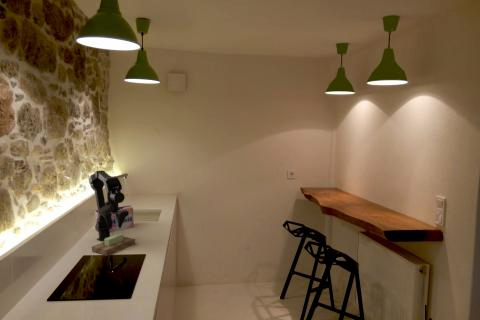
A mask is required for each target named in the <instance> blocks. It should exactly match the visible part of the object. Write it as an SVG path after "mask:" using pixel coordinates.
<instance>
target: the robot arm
mask: <svg viewBox="0 0 480 320" xmlns="http://www.w3.org/2000/svg"><path fill="white" fill-rule="evenodd" d="M88 183H89V185H90V188H91V189H92V190H93V192H94V195H95V196H94V197H95V201H96V207H97V210H98V213H99V215H98V218H97V223H96V222H95V225H94V228H95V231H96V232H97V231H98V232H99V233H98V232H97V233H98V238H96V240H97V241H100V242H104V239H105V238H108V237H111V231H110V230H109V229H112V225H113V221H112V219H111V215H112V214H116V219H117V220H118V226H119V228H121V226H122V224H123V222H124V220H125V218H126V217H127V216H128V215H129V212H128V211H127V210H121V211H118V210H120V208H119V207H120V206H119V205H120V204H121V203H123V202H124V201H125V198H126V196H125V194H124V193H122V190H123V186H122V183H121V181H120V179H119V178H118V177H117V176H111V175H110V174H108V173H107V172H106V171H105V170H103V169H101V170H95V172H94V173H93V174H91V175H90V176H89V178H88ZM103 188H104V189H105V191H106V197H107V199H105V195H104V189H103ZM106 200H107V201H106Z"/></svg>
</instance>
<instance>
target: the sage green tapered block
mask: <svg viewBox="0 0 480 320" xmlns="http://www.w3.org/2000/svg"><path fill="white" fill-rule="evenodd" d="M123 236H124V235H123V233H117V234H113V235H112V236H111V235H110V237H108V238H105V239H104V241H103V242H104V243H105V245H107V246H113V244H115V243H120V242H122V241H123Z"/></svg>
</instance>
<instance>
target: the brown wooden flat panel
mask: <svg viewBox="0 0 480 320" xmlns="http://www.w3.org/2000/svg"><path fill="white" fill-rule="evenodd" d="M134 245H136V239H135V238H132V237H128V236H124V235H123V241H122V242H120V243H115V244H113V246H107V245H105V243H104V241H102V242H100V243H97V244H95V245H92V246H91V253H95V254H98V255H102V256H106V257H107V256H110V255H112V254H115V253H117V252H119V251H121V250H124V249H126V248H129V247H132V246H134Z"/></svg>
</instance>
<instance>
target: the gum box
mask: <svg viewBox="0 0 480 320" xmlns="http://www.w3.org/2000/svg"><path fill="white" fill-rule="evenodd" d="M119 208H120V210H118V211H121V210H127V211H128V212H129V215H128V216H127V217H126V218H125V220H124V222H123V224H122V226H121V228H119V226H118V220H117V219H116V214H112V215H111V219H112V221H113V225H112V229H109V230H110V232H114V231H118V230H125V229H130V228H134V226H135V225H134V224H135V223H134V208H133V206H132V205H124V206H119ZM94 212H95V213H94V214H95V224H96V223H97V218H98V215H99V213H98V209H97V210H95V211H94ZM96 232H97V233H98V234H99V232H98V231H97V230H96Z"/></svg>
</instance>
